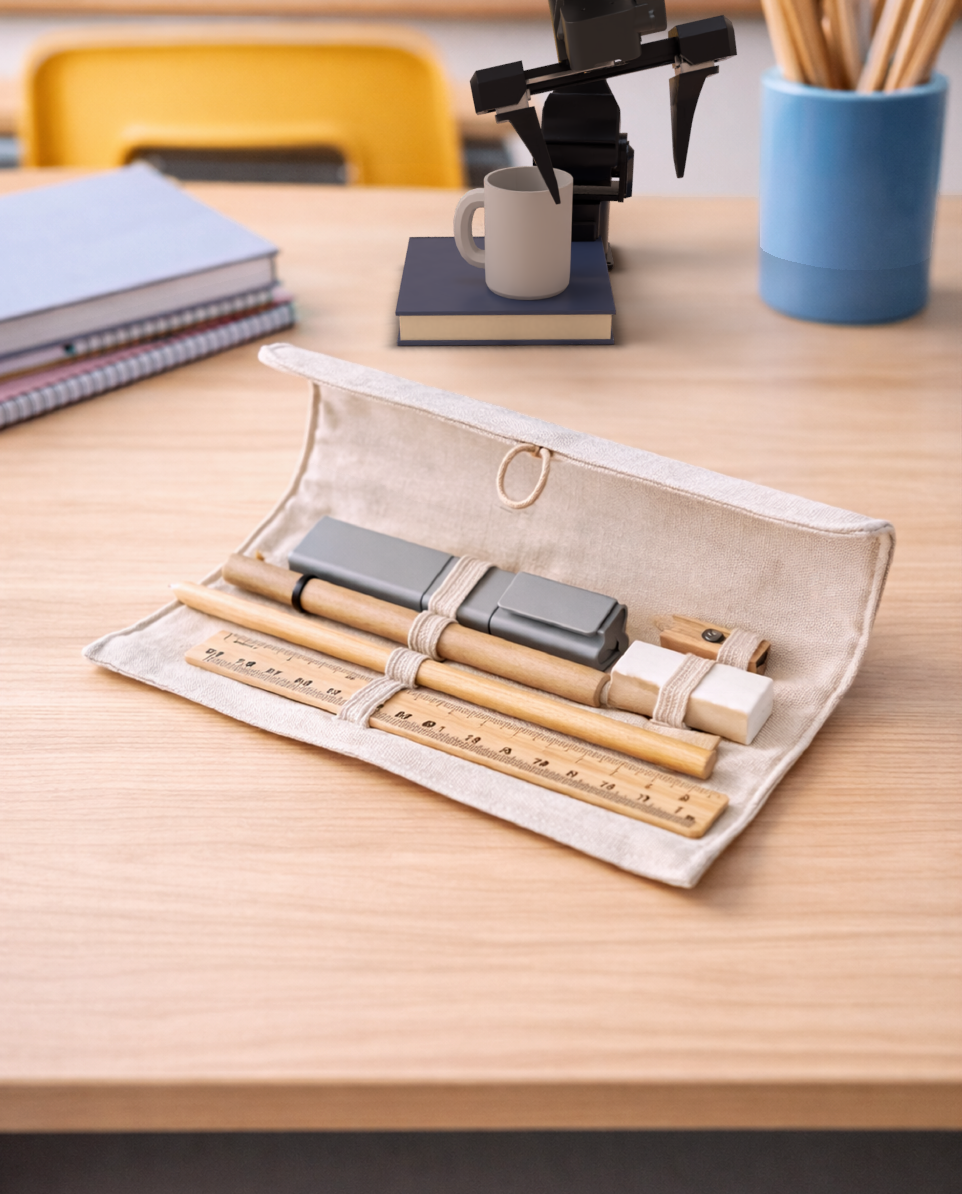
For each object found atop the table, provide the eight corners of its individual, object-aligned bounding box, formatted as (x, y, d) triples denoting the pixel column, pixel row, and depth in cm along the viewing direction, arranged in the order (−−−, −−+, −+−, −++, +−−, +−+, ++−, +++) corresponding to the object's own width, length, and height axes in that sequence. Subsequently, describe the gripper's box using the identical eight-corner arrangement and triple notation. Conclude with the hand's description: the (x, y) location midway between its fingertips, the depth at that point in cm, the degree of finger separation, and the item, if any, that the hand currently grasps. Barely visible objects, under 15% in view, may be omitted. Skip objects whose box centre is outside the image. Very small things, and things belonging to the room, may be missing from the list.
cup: (561, 304, 98) (564, 194, 93) (444, 295, 100) (440, 187, 95) (576, 273, 104) (580, 168, 99) (465, 265, 106) (462, 162, 100)
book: (410, 267, 114) (409, 236, 112) (599, 266, 113) (601, 235, 112) (397, 345, 99) (395, 311, 97) (614, 344, 99) (615, 310, 97)
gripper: (447, -25, 77) (494, 223, 82) (735, -93, 75) (765, 165, 80) (455, -4, 87) (496, 215, 93) (708, -62, 86) (736, 164, 91)
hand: (618, 191), depth 89 cm, fingers open, 9 cm apart
